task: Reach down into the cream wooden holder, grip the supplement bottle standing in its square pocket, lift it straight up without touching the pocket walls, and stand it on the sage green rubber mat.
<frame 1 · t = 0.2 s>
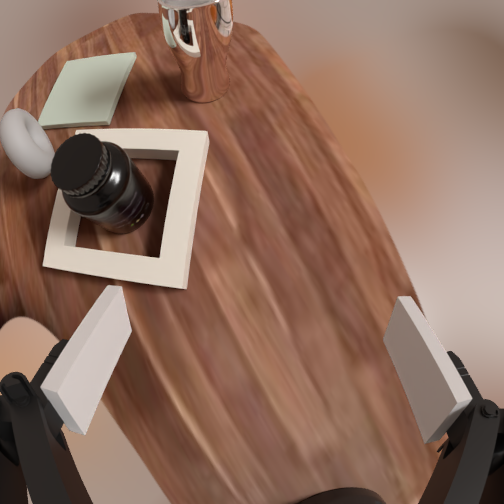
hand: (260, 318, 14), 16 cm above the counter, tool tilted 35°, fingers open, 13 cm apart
mat: (86, 90, 33), on the counter
holder: (125, 204, 31), on the counter
donut: (48, 159, 31), on the counter
supplement bottle: (126, 205, 31), resting in holder
beer glass: (205, 85, 34), on the counter
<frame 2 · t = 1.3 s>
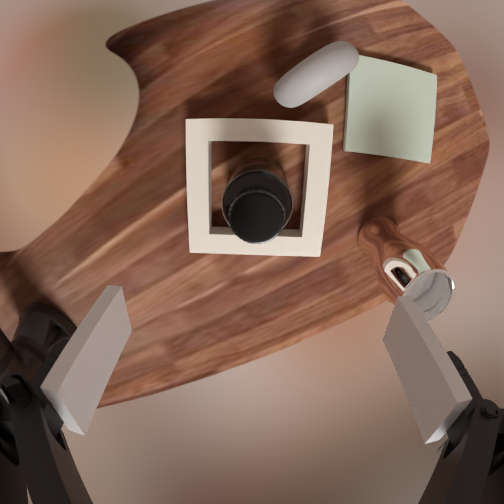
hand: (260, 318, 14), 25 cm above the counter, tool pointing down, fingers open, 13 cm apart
mat: (391, 109, 31), on the counter
holder: (257, 185, 36), on the counter
donut: (307, 79, 31), on the counter
supplement bottle: (257, 184, 36), resting in holder
beer glass: (377, 236, 39), on the counter
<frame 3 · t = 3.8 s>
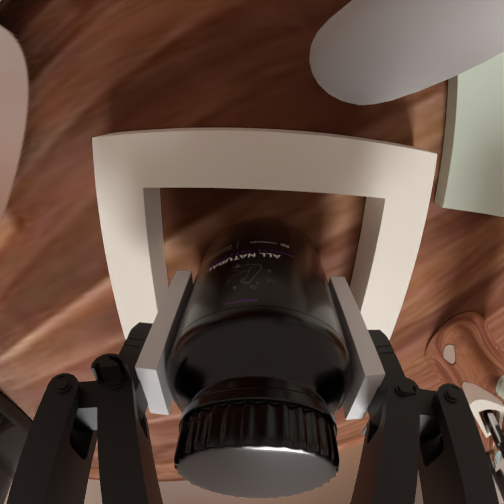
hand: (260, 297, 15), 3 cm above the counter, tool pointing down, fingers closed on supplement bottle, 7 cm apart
holder: (260, 272, 18), on the counter
donut: (373, 45, 12), on the counter
supplement bottle: (260, 270, 18), resting in holder, touching gripper
beer glass: (454, 338, 20), on the counter
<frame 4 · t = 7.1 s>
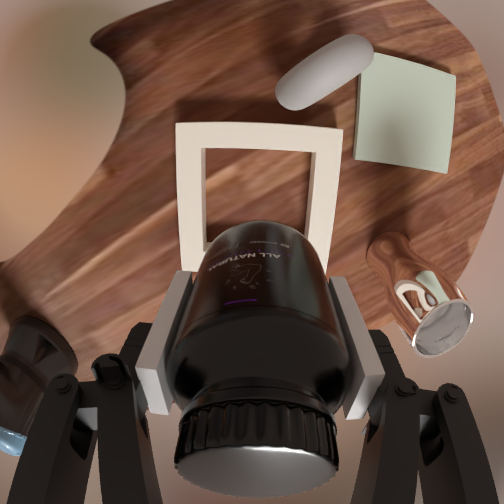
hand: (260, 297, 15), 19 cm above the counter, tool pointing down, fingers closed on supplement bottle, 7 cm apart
mat: (406, 112, 28), on the counter
holder: (256, 196, 33), on the counter
donut: (314, 77, 27), on the counter
supplement bottle: (259, 270, 18), point 16 cm above the counter, touching gripper
beer glass: (388, 252, 35), on the counter
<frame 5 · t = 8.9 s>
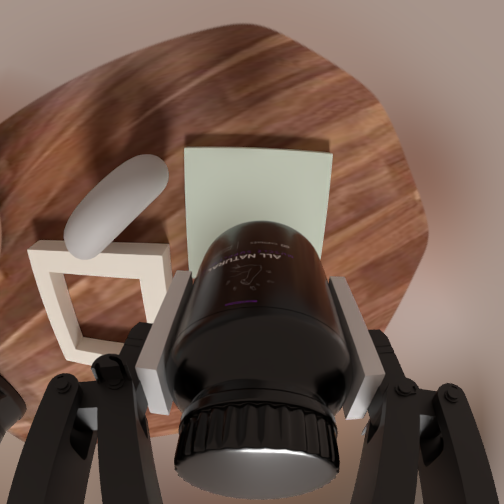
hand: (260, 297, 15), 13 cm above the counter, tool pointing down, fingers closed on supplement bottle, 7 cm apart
mat: (255, 215, 27), on the counter
holder: (109, 306, 32), on the counter
donut: (138, 189, 26), on the counter
supplement bottle: (260, 271, 18), point 10 cm above the counter, touching gripper
when the fingers open (5 cm above the counter, at t = 10.5 s): supplement bottle drops 1 cm, resting on mat.
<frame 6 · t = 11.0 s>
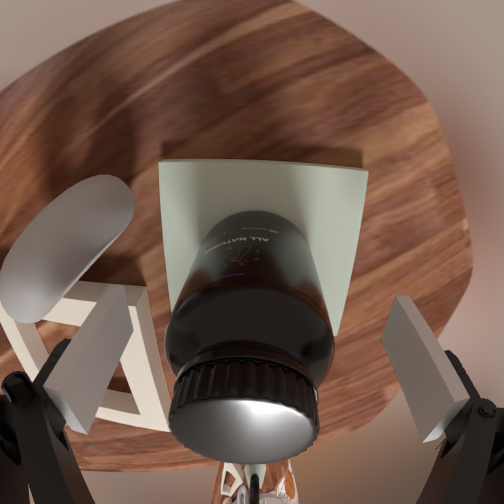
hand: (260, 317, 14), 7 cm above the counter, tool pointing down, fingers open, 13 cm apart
mat: (259, 253, 20), on the counter
holder: (84, 350, 25), on the counter
donut: (104, 216, 19), on the counter
supplement bottle: (254, 258, 19), point 1 cm above the counter, touching mat
beer glass: (256, 407, 28), on the counter
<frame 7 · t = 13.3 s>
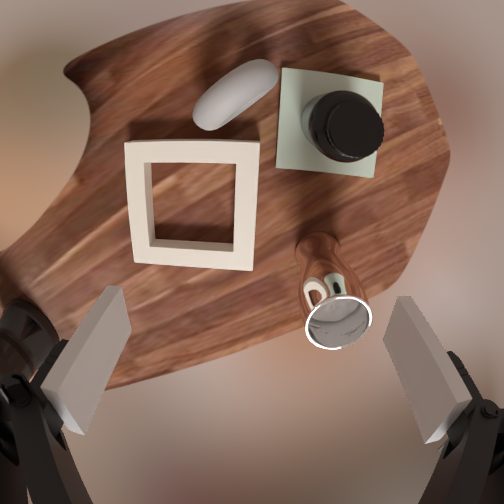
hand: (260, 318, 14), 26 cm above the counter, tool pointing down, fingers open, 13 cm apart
mat: (329, 122, 33), on the counter
holder: (193, 201, 38), on the counter
donut: (239, 96, 32), on the counter
supplement bottle: (328, 122, 32), point 1 cm above the counter, touching mat
beer glass: (317, 251, 41), on the counter
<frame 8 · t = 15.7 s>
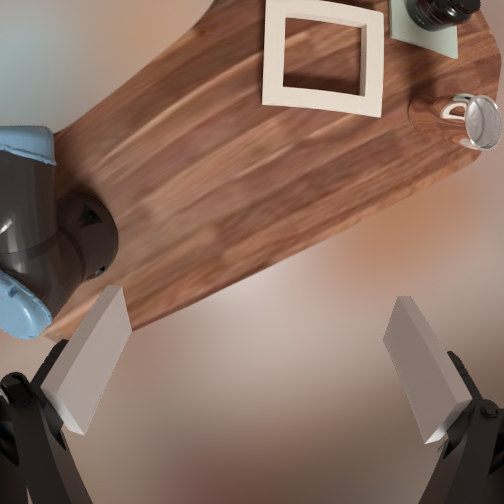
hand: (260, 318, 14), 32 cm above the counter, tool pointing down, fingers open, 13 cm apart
mat: (423, 15, 30), on the counter
holder: (322, 55, 34), on the counter
supplement bottle: (423, 13, 29), point 1 cm above the counter, touching mat
beer glass: (423, 114, 37), on the counter
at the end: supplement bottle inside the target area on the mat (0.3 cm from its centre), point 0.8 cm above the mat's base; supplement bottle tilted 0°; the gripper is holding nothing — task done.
